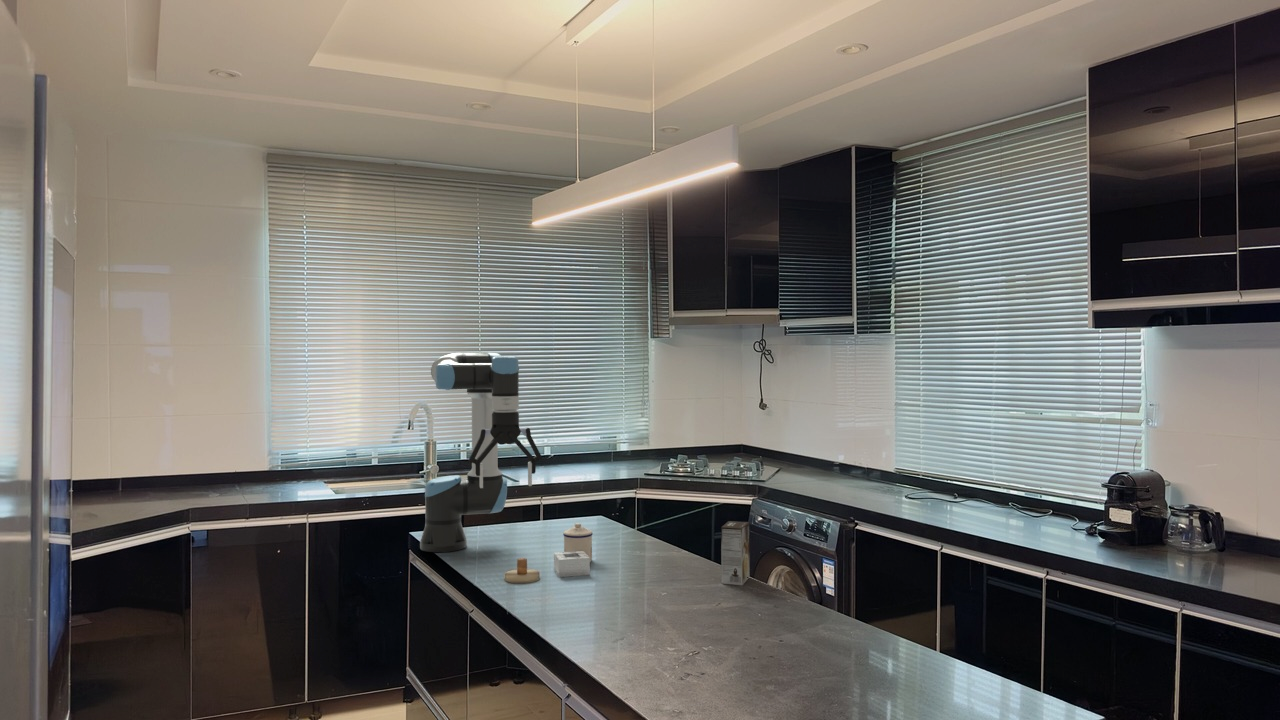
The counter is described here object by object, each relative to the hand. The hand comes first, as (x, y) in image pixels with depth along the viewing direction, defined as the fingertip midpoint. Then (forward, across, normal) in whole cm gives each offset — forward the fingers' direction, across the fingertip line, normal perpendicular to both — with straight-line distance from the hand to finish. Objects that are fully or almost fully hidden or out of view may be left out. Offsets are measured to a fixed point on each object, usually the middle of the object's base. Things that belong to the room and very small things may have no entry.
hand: (505, 486), depth 240 cm
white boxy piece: (+27, +20, +6) cm, 34 cm away
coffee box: (+27, +63, -15) cm, 70 cm away
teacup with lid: (+27, +24, +20) cm, 41 cm away
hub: (+27, +5, +3) cm, 28 cm away
